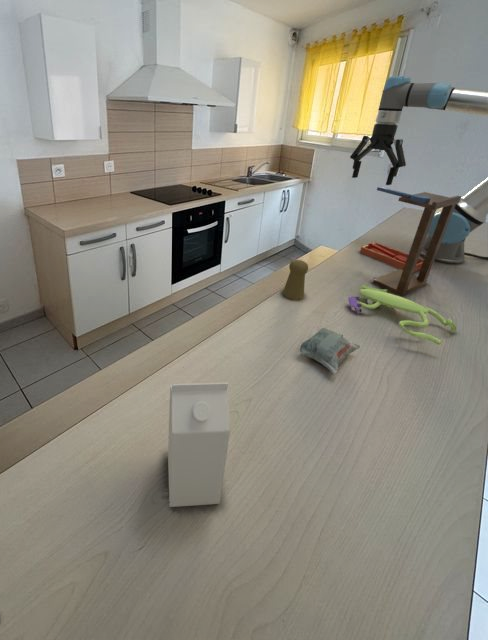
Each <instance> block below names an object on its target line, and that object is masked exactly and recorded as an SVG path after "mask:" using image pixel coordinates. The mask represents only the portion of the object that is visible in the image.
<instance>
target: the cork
mask: <svg viewBox="0 0 488 640" xmlns="http://www.w3.org/2000/svg"><path fill="white" fill-rule="evenodd" d="M288 268H289V274H288V277H287V279H286V283H285V285H284V288H283V291H282V295H283V296H284V297H286V298H287V299H288V300H292V301H301V300H303V299H304V298H305V283H306V282H305V279H306V274H307V273H308V272H309V265H308V263H307V262H306V261H304V260H302V259H293V260H291V261H290V263H289V267H288Z"/></svg>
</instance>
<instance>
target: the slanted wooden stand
mask: <svg viewBox="0 0 488 640" xmlns="http://www.w3.org/2000/svg"><path fill="white" fill-rule="evenodd" d="M417 194H418V195H425V196H428V197H431V199H430V202H429V203H419V202H414V201H412V200H411V198H404V197H400V196H398V202H401V203H406V204H409V205H413V206H418V207H422V208H423V210H422V211H423V212H422V214H421V217H420V220H419V223H418V226H417V229H416V232H415V235H414V238H413V240H412V243H411V246H410V249H409V252H408V254H409V255H408V257H407V260H406V263H405V266H404V269H403V270H401V269H399V268H397V269H394V270H393V271H390V272H388V273H385V274H383V275H381V276H378V277H376V278H374V279H373V281H372V284H374V285H375V286H377V287H378V288H379V287H380V288H382V289H383V290H385V289H387V292H390V293H391V294H393V295H396V296H399V297H402V298H403V296H405V295H407V294H409V293H411V292H413V291H415V290H417V289H419V288H421V287H423V286H424V285H426V284H427V282H428V279H429V275H430V273H431V270H432V268H433V265H434V262H435V257H436V255H437V252H438V250H439V247H440V244H441V242H442V239H443V236H444V234H445V231H446V229H447V226H448V223H449V221H450V218H451V216H452V213H453V210H454V208H455V205H456V204H457V203H459V201H460V199H461V197H462V196H461V195H454V196H451V197H449V196H444V195H439V194H436V193H430V192H427V191H424V192H419V193H417ZM439 208H443V209H442V212H441V215H440V217H439V220H438V223H437V226H436V228H435V231H434V234H433V236H432V239H431V242H430V245H429V247H428V250H427V253H426V255H425V257H424V258H423V260H424V261H423V264H422V266H421V269H420V270H419V272H418V275H416V274H414V273H415V272H414V270H415V267H416V264H417V262H418V259H419V258H420V257H421V255H420V253H421V251H422V248H423V245H424V242H425V240H426V237H427V234H428V231H429V229H430V226H431V223H432V220H433V218H434V215H435V212H436V209H439Z"/></svg>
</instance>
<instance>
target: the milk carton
mask: <svg viewBox="0 0 488 640" xmlns="http://www.w3.org/2000/svg"><path fill="white" fill-rule="evenodd" d="M228 386H229V383H228V382H198V383H197V382H196V383H195V382H194V383H172V384H171V385H170V386H169V415H168V416H169V417H168V443H167V444H168V445H167V450H168V451H167V463H168V464H167V466H168V467H167V469H168V473H167V474H168V506H169V508H177V507H191V506H193V507H195V506H207V505H208V506H209V505H219V504H221V499H222V491H223V485H224V477H225V469H226V462H227V455H228V450H229V449H228V447H229V441H230V434H231V422H230V408H229V395H228ZM169 502H170V503H169ZM171 503H172V504H171Z"/></svg>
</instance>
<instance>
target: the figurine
mask: <svg viewBox="0 0 488 640" xmlns="http://www.w3.org/2000/svg"><path fill="white" fill-rule="evenodd" d="M358 292H359V294H361V295H362V296H363V297H365V298H367V301H366V302H367V303H364V302H362V301H360V300H361V298H360V297H359V296H349V297H347V299H348V303H349V306H350V310H351V311H353V312H355V313H356V314H361V313H362V309H361V308H362V307H364V308H366V309H370V310H374V309H377V308H379V307H380V306H382V305H383V306H386V307H389V308H390V309H391V310H392V311H393V312H394V313H395V314H396V315H399V313H398V311H397V310H400V311H403V312H407V313H413V314H418V315H419V317H420V319H421V320H422V322H421V321H416V320H410V319H409V320H408V319H407V320H400V321H399V322H398V326H399V327H400V329H402V331H404V332H405V333H407V334H408V335H409V336H411V337H415V338H420V339H426V340H429V341H431V342H432V343H434V344H435V345H438V346H441V345H442V343H443V341H442V340H441V339H439V338H438V337H436V336H434V335H433V334H432V335H431V334H429V333H426V332H425V333H424V332H419V331H413V330H408V329H407V328H406V327H405V326H413V327H419V328H425V327H428V326H429V325H430V321H429V318H428V317H427V315H426V314H430V315H432V316H433V317H434V318H436V320H438V321H439V322H440V323H441V324H442V325H443V326H446V327H447V326H449V327H450V333H455V332H456V331H457V326H456V324H455V323H454V321H453V320H452V319H451V318H447V319H445V318H444V317H443V316H441V315H440V314H439V313H438V312H436V311H435V310H433V309H431V308H429V307H426V306H423V305H421V304H419V303H417V302H416V301H413V300H410V299H407V298H405V297H403V296H402V297H401V296H399V295H396V294H394V293H391V292H390V293H389V292H388V290H387V289H380V288H375V287H371V286H368V285H365V284H363V285H361V289H359V290H358Z"/></svg>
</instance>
